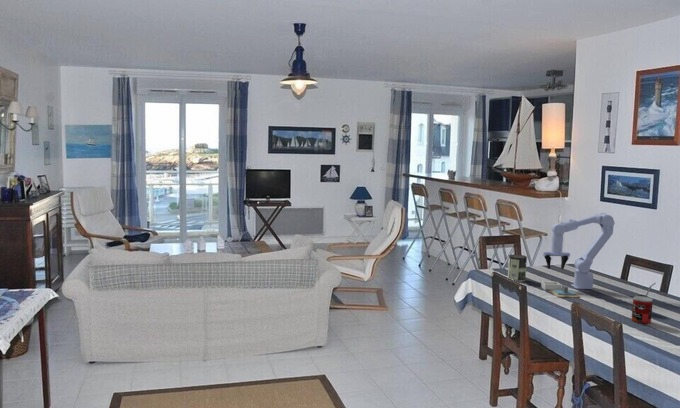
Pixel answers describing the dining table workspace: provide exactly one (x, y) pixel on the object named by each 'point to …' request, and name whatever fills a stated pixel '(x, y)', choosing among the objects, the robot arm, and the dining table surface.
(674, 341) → the dining table surface
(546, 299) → the dining table surface
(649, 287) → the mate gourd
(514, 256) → the coffee can
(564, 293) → the lid
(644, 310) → the canned food
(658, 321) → the dining table surface
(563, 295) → the mat
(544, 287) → the box
